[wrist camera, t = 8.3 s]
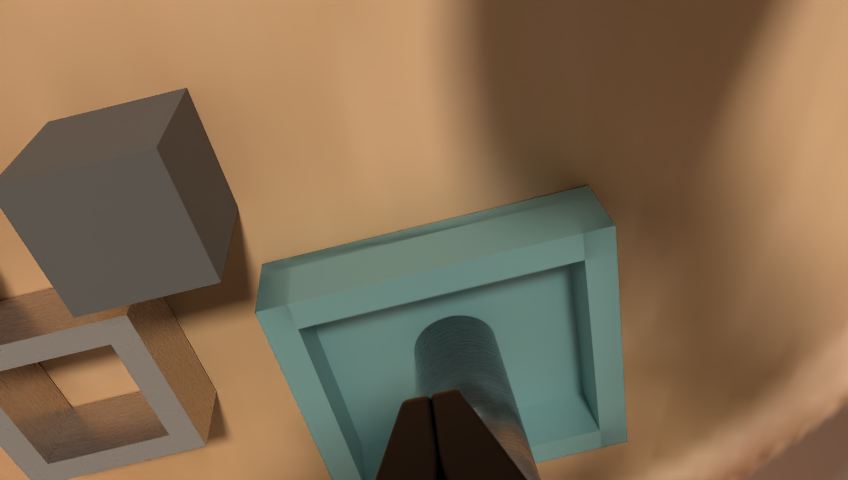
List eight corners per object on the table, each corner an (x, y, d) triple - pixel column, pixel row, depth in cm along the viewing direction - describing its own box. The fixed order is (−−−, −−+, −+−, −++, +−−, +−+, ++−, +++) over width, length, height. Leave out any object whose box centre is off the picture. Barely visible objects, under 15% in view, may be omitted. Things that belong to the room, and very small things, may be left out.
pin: (489, 306, 23) (566, 543, 16) (501, 367, 25) (576, 607, 17) (406, 326, 23) (442, 572, 16) (423, 385, 25) (464, 633, 17)
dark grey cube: (187, 86, 19) (156, 147, 15) (238, 206, 21) (221, 282, 17) (49, 120, 19) (-13, 188, 15) (114, 236, 21) (73, 318, 17)
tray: (588, 185, 22) (615, 225, 20) (604, 393, 27) (627, 441, 25) (262, 264, 22) (255, 312, 20) (344, 455, 27) (345, 508, 25)
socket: (145, 265, 21) (126, 314, 19) (216, 392, 25) (206, 446, 23) (-34, 309, 21) (-73, 362, 19) (60, 429, 25) (36, 486, 23)
